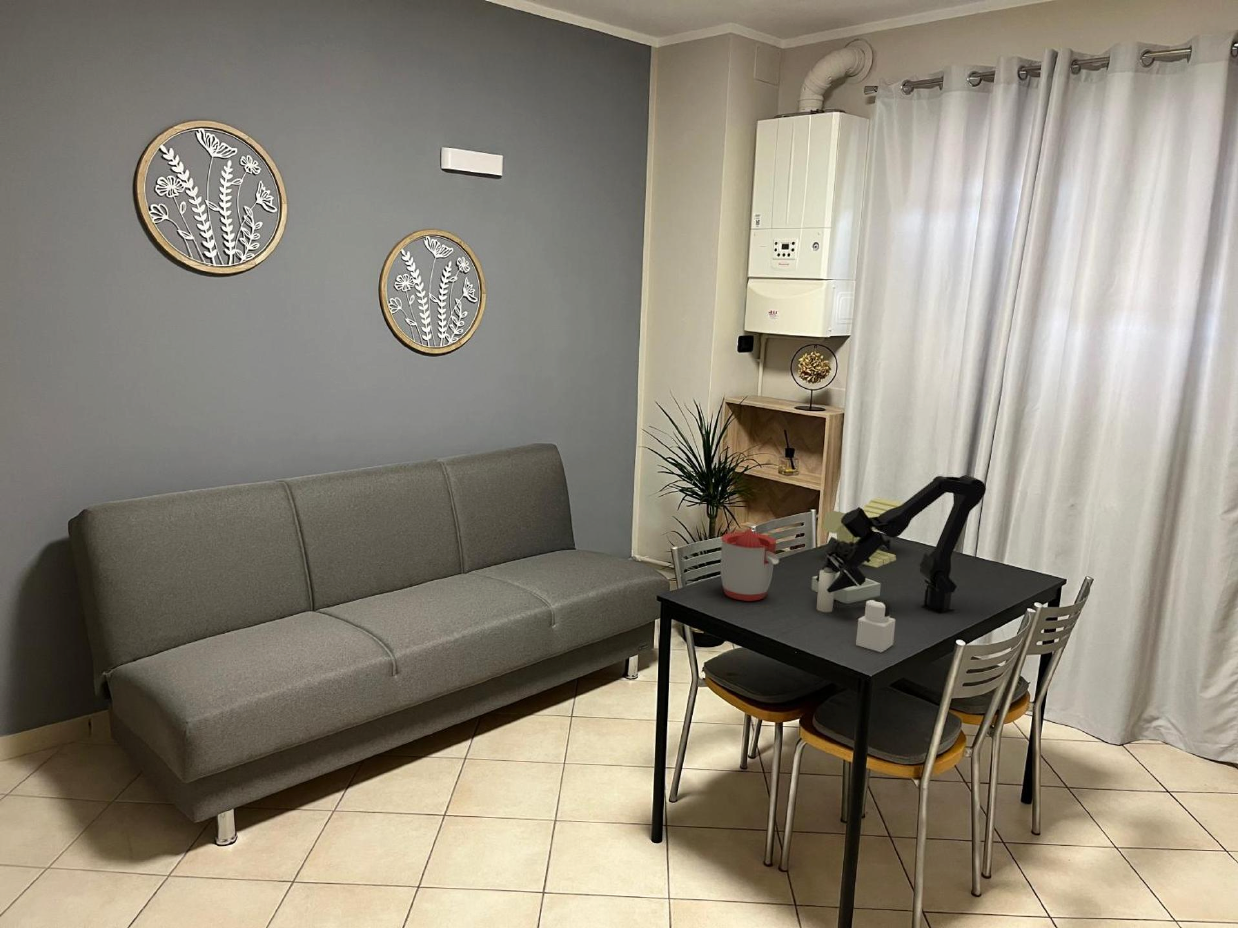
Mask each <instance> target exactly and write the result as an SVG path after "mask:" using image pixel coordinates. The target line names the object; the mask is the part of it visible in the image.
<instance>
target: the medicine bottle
mask: <svg viewBox="0 0 1238 928" xmlns="http://www.w3.org/2000/svg"><path fill="white" fill-rule="evenodd" d="M865 601H866V602H865V610H864V615H862V616H861V617H860V618H858V619H857V625H856V627H857V629H856V638H855V639H856V640H855V645H856V646H858V647H861V648H865V649H868V650H871V651H874V652H878V653H882V652H884V651H886V650H887V649H889V648H890V647H892V646H893V645H894V638H895V628H896V619H895V618H892V617H890V615H891V609H892V608H891V606H892V604H891V603H890V601H888V600H886V599H883V598H879V597H875V598H871V599H867V600H865Z"/></svg>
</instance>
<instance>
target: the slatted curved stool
mask: <svg viewBox="0 0 1238 928" xmlns="http://www.w3.org/2000/svg"><path fill="white" fill-rule="evenodd" d="M903 503H904V501H903V502H901V501H898V500H892V499H888V498H883V497H875V498H873V499H871V500H870V501H869V502H868V503H867V504H865V505H864V506H863V507H861V508H862V509H863V511H864V512H865V514H866V515H867V516H868V517H869V518H870V517H877V516H879V515H880V514H882V513H884V512H886V511H888V510H889V509H892V508H895V507H898V506H900V505H902V504H903ZM846 513H847V512H846ZM846 513H845V512H840V511H837V510H830V511H828V512H827V513H826V514H825V516H824V520H823V528H822V529H823V530H822V531H823V532H826V533H829V534H830V533H831V534H836V539H838V540H840V541H845V542H847V543H849V542H853V543H855V542H856V541H857V540H858V539H859V537H857V538H855V537H853V536H852V534H851V533H850V532H849V531H848V530H847V529H846V528H845V527H844V525H843V524H842V523H841V519H842V517H843V516H844V515H845V514H846ZM871 529H872V530H873V531H875V532H879V531H878V530H876V529H875V528H873V527H872V528H871ZM869 559H870V560H871V561H870V562H868V563H867V562H866V561H865V562H864V563H863V564H862V565H866V566H870V567H873V568H879V567H882V566H883V565H887V564H890V563H891V562H895V561H897V556H896V555H895V554H893V553H889V552H887V551H886V552H885V551H882V550H880V549H878V550H877V551H876V552H875V553H874V554H873V555H872V556H871V557H870V558H869Z"/></svg>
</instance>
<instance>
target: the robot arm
mask: <svg viewBox="0 0 1238 928" xmlns="http://www.w3.org/2000/svg"><path fill="white" fill-rule="evenodd" d="M986 491H987V486H986V485H985V483H984V482H983V480H980V479H978V478H976V477H974V476H972V475H969V474H964V475H962V476H942V475H938V476H935V477H934V478H933V479H932V480H931V481H930V482H929V483H928V484H927V485H925V486H924V487H923V488H921V489H920V490H919V491H917V492H916V493H915V494H914V495H912V496H911V497H910V498H908V500H906V501H905V502H903V504H902V505H900V506H898V507H895V508H892V509H889V510H888V511H886V512H884V513H882V514H880V515H879V516H877V517H870V518H869V517H868V516H867V515H866V514H865V512H864V511H863V509H862V508H863V507H860V506H858V507H857V508H855V509H852V510H849V512H846V514H845V515H844V516H843V517H842V519H841V523H842V524H843V525H844V527H845V528H846V529H847V530H848V531H849V532H850V533H851V534H852V536H853V537H855V538H857V537H859V539H858V540H857V541H856V542H855V543H853V542H849V543H847V542H845V541H840V540H838V539H837V537H833V536H831V537H830V538H829V540H828V542H827V543H826V545H825V548H826V547H827V549H826V550H824V553H825V554H824V560H825V561H824V564H823V567H822V568H821V570H824V568H831V569H832V571H834V572H836V573H838V572H840V575H839V576H838V577H837V579H836V580H835V581H834V582H833V583H832V584H831V585H830V586H829V588H828V589H827V591H828V592H829V593H831V592H834V591H837V590H841V589H844V588H848V587H852V586H857V584H858V585H860V586H861V585H862V584H863V583H864V582H865V580H866V575H864V573H863V572H862V571H861V570H860V569H859V568H860V567H861V566H862V565H864V564H863V563H864V562H865V561H866V562H867V563H868V562H870V561H871V560H870V559H869V558H870V557H871V556H872V555H873V554H874V553H875V552H876V551H877V550H880V549H881V548H882V547H883V548H885V549H886V550H888V551H890V550H891V539H889V538H894V539H895V538H897V537H900V535H901V534H903V533H904V532H905V530H907V528H908V527H909V525H910V523H911V522H912V520H913V519H914V518H915V517H916V516H918V514H920V513H921V512H923V511H924V510H925V509H926V508H927V507H930V505H932V504H933V503H934V502H935V501H937V500H938V499H939V498H941V497H942V496H944V494H946V493H950V494H953V495H952V496H953V504H952V506H951V510H950V512H949V515H948V517H947V518H946V521H945V523H944V526H943V529H942V530H941V533H940V536H939V538H938V541H937V543H936V545H935V547H934V549H933V551H932V552H931V553H929V554H928V553H924V554H923V555H922V560H921V562H920V563H919V565H918V566H919V567H920V568H919V573H920V576H921V577H922V578H923V580H924V583H925V584H926V589H924V601H923V603H922V604H921V606H920V607H922V608H925V609H927V610H929V611H932V612H934V613H938V614H941V613H942V614H943V613H946V612H950V611H953V610H954V607H952V606H951V604H952V602H951V601H952V593H955V591H956V590H957V584H956V583H955V582H954V581H953V580H952V579H951V578H950V575H951V571H952V556H953V554H954V551H955V548H956V546H957V544H958V542H959V539H960V537H961V534H962V532H963V530H964V527H965V524H966V522H967V520H968V517H969V515H970V513H971V511H972V510H973V509H974V508H975V507H976V506H978V505H979V504H980V502H982V499H983V498H984V496H985V494H986ZM872 527H873V528H875V529H876V530H878V531H876V530H872V529H871V528H872ZM881 533H883V534H884V535H885V536H886V537H884V536H883V534H881ZM887 537H888V538H887ZM819 574H820V572H819V573H818V574H817V575H816V576H817V578H816V580H817V581H818V582H819ZM856 583H857V584H856Z"/></svg>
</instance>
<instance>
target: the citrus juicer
mask: <svg viewBox="0 0 1238 928" xmlns="http://www.w3.org/2000/svg"><path fill="white" fill-rule="evenodd" d="M721 541H722V542H721V555H720V577H721V584H722V589H723V591H724V594H725V596H727V597H729V598H731V599H735V600H738V601H745V602H753V601H758V600H761V599H764V598H765V597H766V595H767V592H768V591H769V587H770V585H771V582H772V578H773V572H774V570H773V569H774V565H777V564H779V562H780V559H779V556H778V555H776V545H777V541H776V540H775V539H774V538H773V537H771V536H769V535H766V534H763V533H762V534H761V533H756V532H754V531H753V530H752V529H750V528H747V529H746V530H745V531H740V532H739V531H737V532H736V531H735V532H729V533H725V534H723V535H721Z"/></svg>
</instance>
